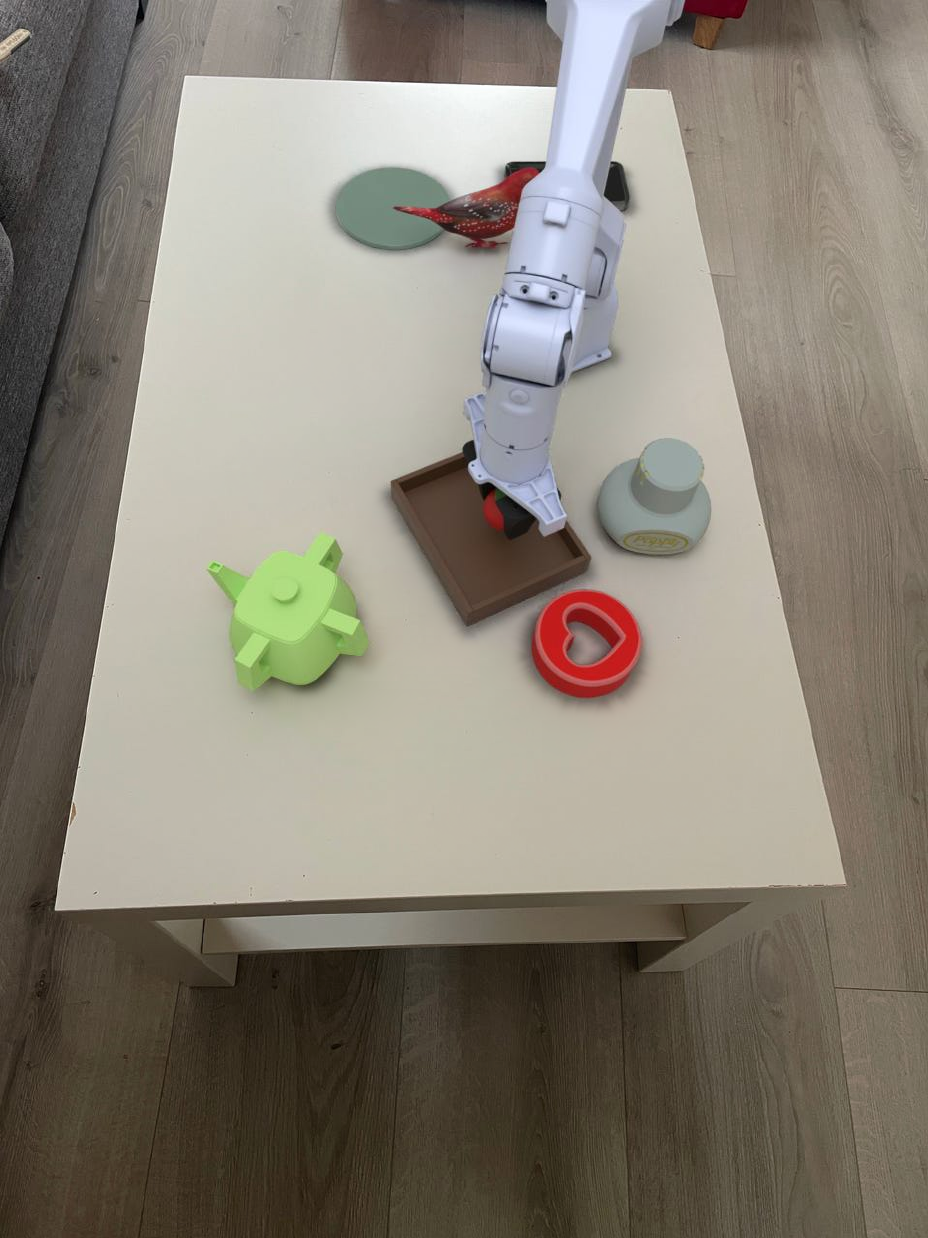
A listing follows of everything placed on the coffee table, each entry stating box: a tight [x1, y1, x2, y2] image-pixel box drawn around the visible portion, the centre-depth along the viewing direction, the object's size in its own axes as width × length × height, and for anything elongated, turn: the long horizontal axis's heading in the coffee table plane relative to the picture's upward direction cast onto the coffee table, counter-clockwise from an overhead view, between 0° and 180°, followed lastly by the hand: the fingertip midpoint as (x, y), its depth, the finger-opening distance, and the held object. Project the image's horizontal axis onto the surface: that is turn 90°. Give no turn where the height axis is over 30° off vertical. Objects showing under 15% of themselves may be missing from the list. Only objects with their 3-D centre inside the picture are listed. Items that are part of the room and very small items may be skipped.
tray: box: [390, 452, 592, 627], centre depth 83 cm, size 13×16×3 cm
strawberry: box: [483, 488, 507, 531], centre depth 79 cm, size 4×4×5 cm
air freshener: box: [597, 437, 712, 555], centre depth 81 cm, size 11×8×10 cm
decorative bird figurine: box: [393, 168, 540, 249], centre depth 97 cm, size 3×18×10 cm, turn 98°
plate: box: [335, 166, 451, 251], centre depth 104 cm, size 14×14×1 cm
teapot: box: [205, 531, 371, 692], centre depth 74 cm, size 12×12×10 cm
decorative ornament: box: [531, 588, 643, 699], centre depth 78 cm, size 10×10×3 cm
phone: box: [504, 160, 631, 212], centre depth 106 cm, size 8×1×15 cm
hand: (504, 514), depth 80 cm, fingers closed on strawberry, 4 cm apart
